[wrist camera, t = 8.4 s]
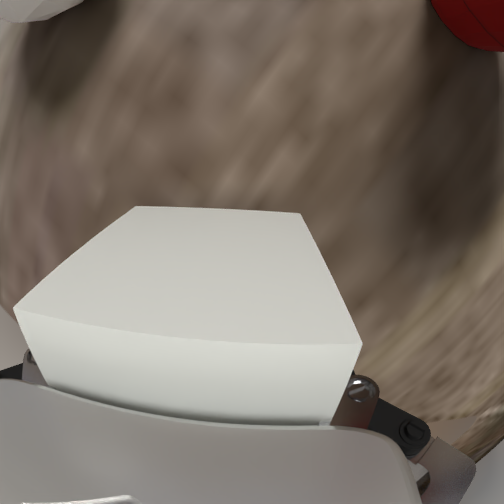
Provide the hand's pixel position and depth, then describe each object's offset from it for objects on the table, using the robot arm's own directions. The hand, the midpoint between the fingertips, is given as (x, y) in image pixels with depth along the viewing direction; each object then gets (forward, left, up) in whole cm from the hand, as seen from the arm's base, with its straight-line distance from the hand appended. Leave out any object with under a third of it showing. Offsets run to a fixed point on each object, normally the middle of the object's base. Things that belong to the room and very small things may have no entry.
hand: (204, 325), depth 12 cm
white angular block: (0, 0, -3) cm, 3 cm away
